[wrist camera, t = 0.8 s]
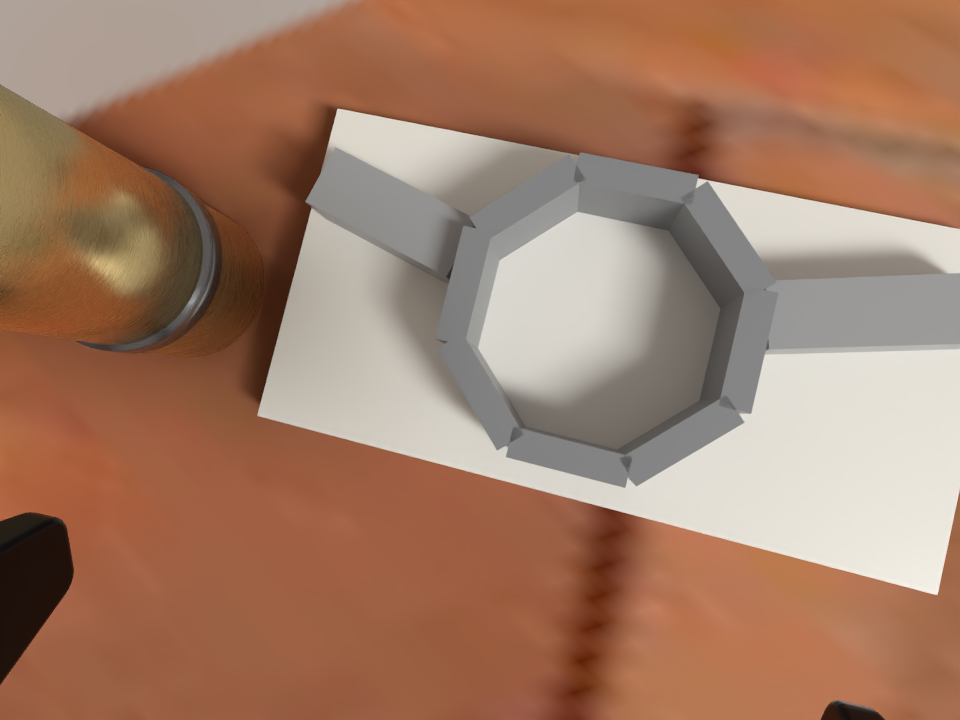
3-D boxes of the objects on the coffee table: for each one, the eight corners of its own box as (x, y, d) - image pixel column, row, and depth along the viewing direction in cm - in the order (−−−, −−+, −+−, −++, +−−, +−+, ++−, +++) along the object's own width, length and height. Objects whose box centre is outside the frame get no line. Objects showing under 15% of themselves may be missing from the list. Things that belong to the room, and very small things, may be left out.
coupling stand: (914, 584, 20) (998, 624, 16) (273, 415, 22) (214, 416, 18) (986, 249, 20) (1083, 212, 16) (349, 124, 23) (307, 67, 19)
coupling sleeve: (190, 394, 23) (-396, 364, 9) (91, 285, 23) (-593, 101, 10) (300, 280, 23) (-120, 68, 9) (197, 175, 23) (-342, -177, 9)
